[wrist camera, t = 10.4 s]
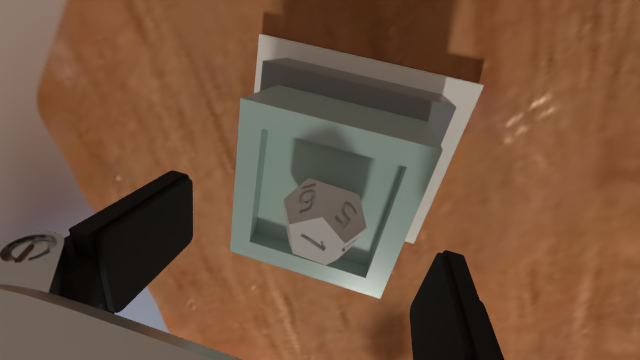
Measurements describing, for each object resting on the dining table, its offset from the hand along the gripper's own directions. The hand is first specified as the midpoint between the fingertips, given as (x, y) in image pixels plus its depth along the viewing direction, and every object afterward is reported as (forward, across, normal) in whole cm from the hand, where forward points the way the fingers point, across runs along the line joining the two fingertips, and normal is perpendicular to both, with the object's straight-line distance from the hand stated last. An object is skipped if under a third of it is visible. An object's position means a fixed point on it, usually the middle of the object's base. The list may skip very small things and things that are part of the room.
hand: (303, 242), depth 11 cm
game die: (+3, 0, 0) cm, 3 cm away
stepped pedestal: (+12, 0, 0) cm, 12 cm away
